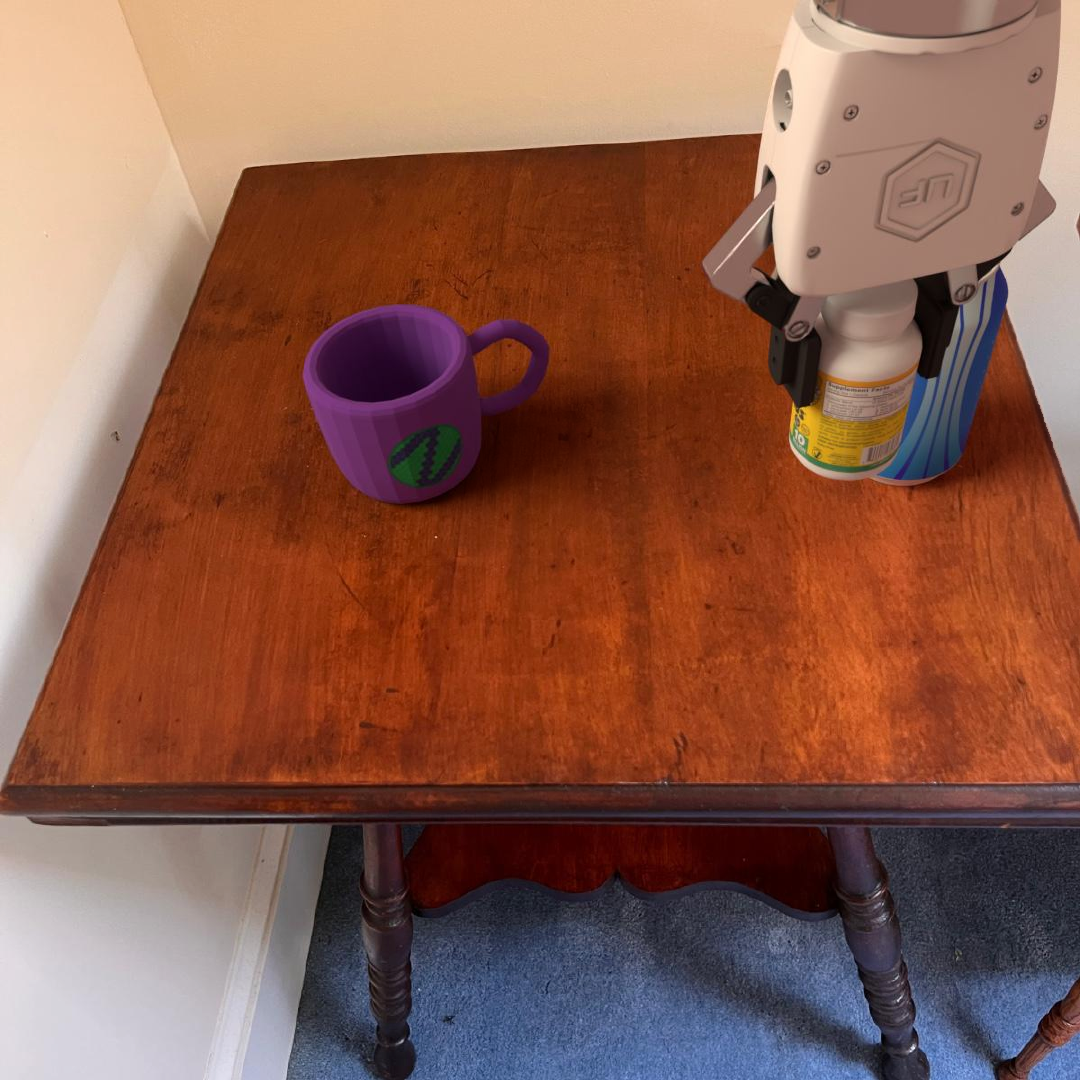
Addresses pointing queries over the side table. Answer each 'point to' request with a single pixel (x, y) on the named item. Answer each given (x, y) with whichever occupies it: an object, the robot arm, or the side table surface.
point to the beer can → (950, 391)
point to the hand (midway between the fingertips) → (855, 371)
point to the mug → (409, 397)
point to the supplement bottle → (860, 383)
